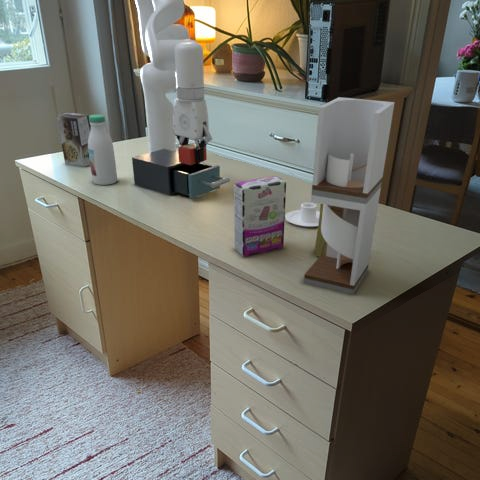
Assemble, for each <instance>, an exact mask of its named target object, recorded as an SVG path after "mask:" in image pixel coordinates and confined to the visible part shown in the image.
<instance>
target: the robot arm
mask: <svg viewBox="0 0 480 480" xmlns="http://www.w3.org/2000/svg"><path fill="white" fill-rule="evenodd" d="M134 2H135V5H136V8H137V15H138V23H139V34H140V42H141V48H142V52H143V53H144V55H145V56H146V57H148V58H149V60H150V62H147V63H145V64H144V65H142V67H141V69H140V73H139V75H140V81H141V86H142V91H143V96H144V102H145V111H146V113H145V114H146V124H147V137H148V147H149V149H148V150H149V153H150V152H154V151H158V150H161V149H167V150H171V151H175V152H177V150H178V147H180V146H183V145H187V144H190V143H189V142H190V140H194V142H195V144H196V148H197V149H195V163H203V162H205V161H204V148H205V147H206V148H207V145H209V143H210V142H211V141H212V140H213V137H212V134H211V132H210V131H209V129H210V128H209V127H210V126H209V114H208V113H209V112H208V107H207V101H206V99H205V78H204V77H205V76H204V74H205V73H204V48H203V46H202V45H201V44H200V43H198V42H197V41H196V40H194V39H191V37H190V33H189V31H188V29H187V27H186V26H185V25H183V24H179V23H177V22H178V21H179V20H181V18H182V17H183V16H184V14H185V9H186V8H185V3H184V0H134ZM174 93H175V94H176V97H175V98H174V102H173V103H172V101H171V100H170V99H169V98H168V97H167V95H166V94H174ZM176 139H177V140H176ZM177 141H178V142H177Z"/></svg>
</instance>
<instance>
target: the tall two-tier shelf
mask: <svg viewBox="0 0 480 480" xmlns="http://www.w3.org/2000/svg"><path fill="white" fill-rule="evenodd" d="M395 103H396V102H395V101H384V100H373V99H364V98H363V99H361V98H352V97H341V96H338V97H337V98H334V99H332V100H331V101H328V102H326V103H324V104H322V105H321V106H319V107H318V114H317V115H318V116H317V125H316V138H315V148H314V149H315V150H314V161H313V170H312V171H313V172H312V185H311V196H310V197H311V198H310V203H314V204H320V205H321V204H323V213H322V223H321V233H322V236H323V238H324V239H325V241H326V242H327V252H326V254H322V255H321V256H320V257H317V259H316V260H315V262H314V263H313V264H312V265H311V266H310V267H309V268H308V269H307V271H306V272H305V273H304V276H303V284H306V285H311V286H315V287H319V288H324V289H326V290H327V289H328V290H331V291H336V292H339V293H345V294H349V295H352V296H353V295H354V293H355V292H356V290H357V289H358V287H359V286H360V284H361V282H362V281H363V279H364V278H365V276H366V275H367V273H368V271H369V263H370V258H371V251H372V247H373V241H374V234H375V226H376V221H377V216H378V215H377V214H378V208H379V202H380V196H381V191H382V190H381V189H382V183H383V177H384V171H385V165H386V158H387V152H388V145H389V140H390V133H391V127H392V121H393V114H394V109H395V108H394V107H395Z"/></svg>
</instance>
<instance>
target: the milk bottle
mask: <svg viewBox="0 0 480 480" xmlns="http://www.w3.org/2000/svg"><path fill="white" fill-rule="evenodd" d="M89 121H90V126H91V131H90V135H89V138H88V152H89V159H90V165H89V166H90V172H91V173H90V174H91V179H92V182H93V184H95V185H100V186H109V185H113V184H115V183H117V182H118V173H117V165H116V155H115V150H114V144H113V139H112V138H111V136H110V133H109V132H108V130H107V128H106V117H105V115H104V114H91V115H89Z"/></svg>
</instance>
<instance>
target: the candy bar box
mask: <svg viewBox="0 0 480 480" xmlns="http://www.w3.org/2000/svg"><path fill="white" fill-rule="evenodd" d="M286 197H287V181H286V180H285V179H282V178H281V177H279V176H277V175H274V176H267V177H262V178H255V179H250V180H244V181H238V182H237V181H236V182H233V212H234V215H233V217H234V218H233V219H234V221H233V222H234V223H233V225H234V250H235V252H237V253H238V254H240V255H241V256H242V257H243V258H247V257H251V256H255V255H258V254H263V253H268V252H272V251H276V250H281V249H283V248H284V245H285V244H284V243H285V222H286V218H285V215H286V200H287V199H286Z"/></svg>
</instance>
